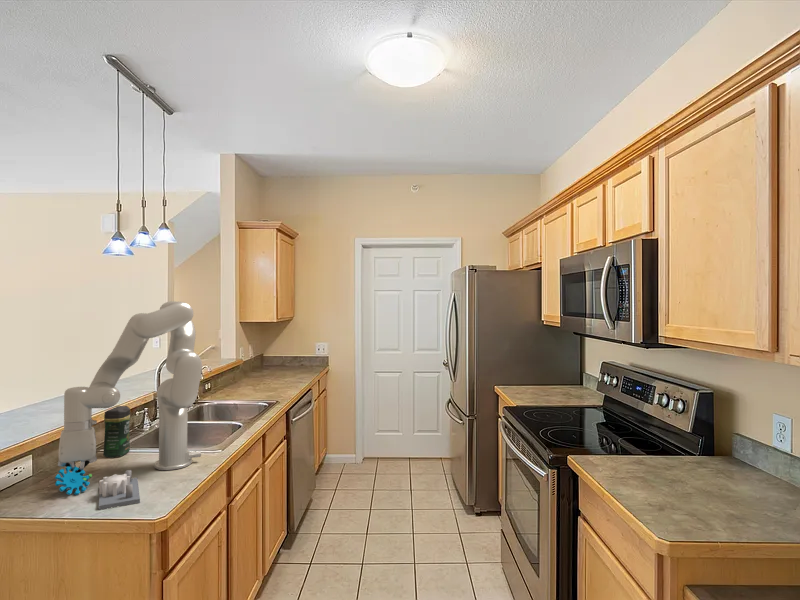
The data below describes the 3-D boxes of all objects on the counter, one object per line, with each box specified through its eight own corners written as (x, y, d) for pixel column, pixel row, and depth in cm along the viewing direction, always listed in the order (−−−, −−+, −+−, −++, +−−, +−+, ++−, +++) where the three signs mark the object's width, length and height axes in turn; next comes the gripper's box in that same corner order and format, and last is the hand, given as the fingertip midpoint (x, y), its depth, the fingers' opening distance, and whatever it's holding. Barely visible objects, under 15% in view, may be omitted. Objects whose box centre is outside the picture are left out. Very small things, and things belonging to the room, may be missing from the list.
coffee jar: (122, 458, 188) (122, 409, 188) (100, 458, 188) (100, 409, 188) (133, 450, 198) (133, 404, 198) (112, 450, 197) (112, 404, 197)
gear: (62, 495, 148) (52, 467, 152) (52, 507, 150) (42, 479, 154) (98, 488, 158) (88, 462, 162) (88, 499, 160) (79, 473, 164)
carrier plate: (137, 481, 165) (137, 465, 165) (139, 502, 148) (139, 485, 148) (100, 487, 160) (100, 470, 160) (98, 510, 142) (98, 492, 142)
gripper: (105, 420, 167) (104, 474, 167) (51, 425, 160) (51, 482, 160) (104, 425, 161) (103, 481, 161) (48, 431, 154) (47, 490, 154)
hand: (77, 481), depth 161 cm, fingers closed
